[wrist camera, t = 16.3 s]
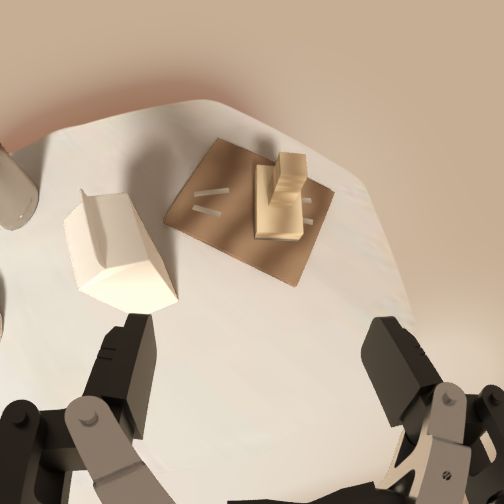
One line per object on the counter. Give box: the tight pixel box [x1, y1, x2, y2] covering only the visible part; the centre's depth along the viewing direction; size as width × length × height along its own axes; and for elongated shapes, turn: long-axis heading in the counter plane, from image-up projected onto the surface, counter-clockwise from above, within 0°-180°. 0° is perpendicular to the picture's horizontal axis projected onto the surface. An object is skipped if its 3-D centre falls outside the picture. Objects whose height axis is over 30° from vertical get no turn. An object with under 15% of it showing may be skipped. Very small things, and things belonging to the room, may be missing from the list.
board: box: [163, 138, 335, 287], centre depth 43 cm, size 20×16×1 cm
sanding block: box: [254, 152, 308, 242], centre depth 38 cm, size 6×10×11 cm, turn 0°
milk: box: [63, 189, 179, 314], centre depth 28 cm, size 6×6×22 cm
